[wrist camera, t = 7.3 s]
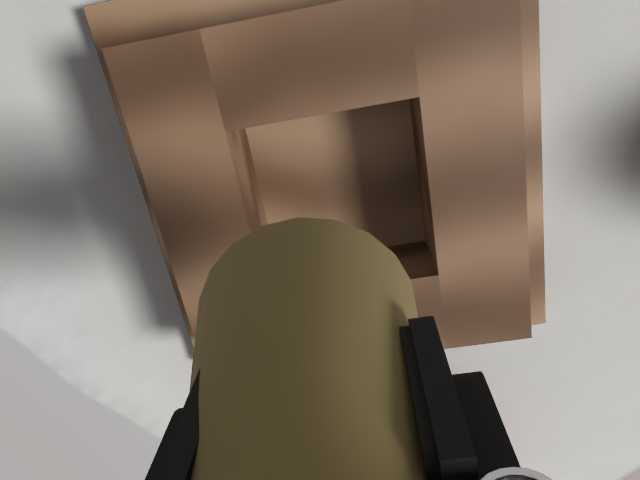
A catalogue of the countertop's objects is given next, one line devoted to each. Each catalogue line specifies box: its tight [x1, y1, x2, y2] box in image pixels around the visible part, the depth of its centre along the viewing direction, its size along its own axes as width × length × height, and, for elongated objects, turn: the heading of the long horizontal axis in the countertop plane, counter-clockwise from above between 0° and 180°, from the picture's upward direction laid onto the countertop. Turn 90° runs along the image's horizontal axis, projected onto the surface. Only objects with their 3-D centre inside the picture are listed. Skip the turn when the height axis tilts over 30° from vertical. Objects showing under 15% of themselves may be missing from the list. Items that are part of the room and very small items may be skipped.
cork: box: [190, 217, 427, 480], centre depth 9 cm, size 6×6×11 cm
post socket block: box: [83, 0, 545, 349], centre depth 25 cm, size 20×20×5 cm
